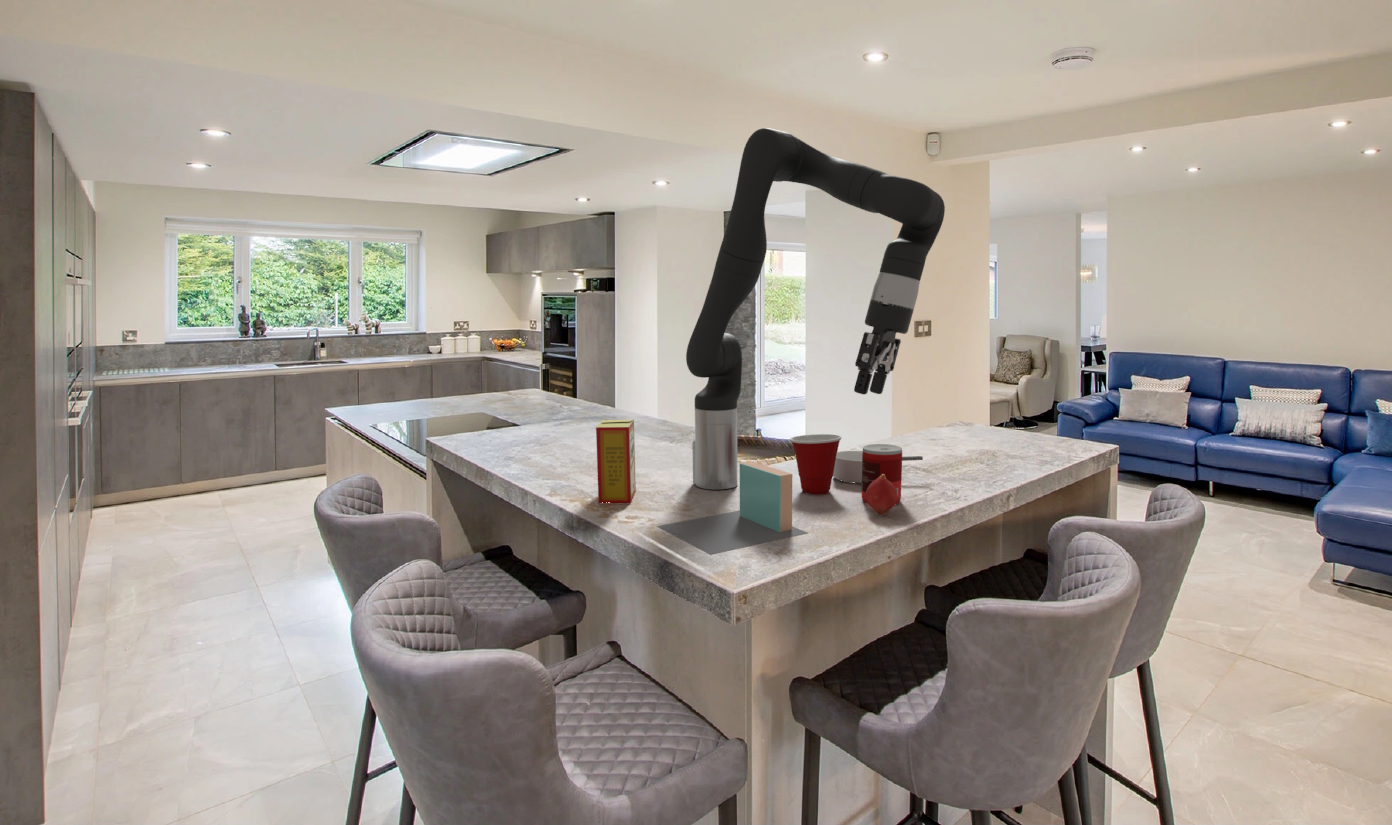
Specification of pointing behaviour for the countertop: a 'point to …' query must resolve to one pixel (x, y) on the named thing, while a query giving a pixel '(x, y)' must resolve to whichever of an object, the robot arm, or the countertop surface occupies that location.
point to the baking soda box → (616, 461)
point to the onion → (881, 495)
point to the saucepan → (854, 465)
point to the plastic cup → (816, 461)
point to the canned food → (881, 466)
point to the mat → (725, 532)
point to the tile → (766, 496)
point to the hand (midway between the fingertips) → (867, 393)
